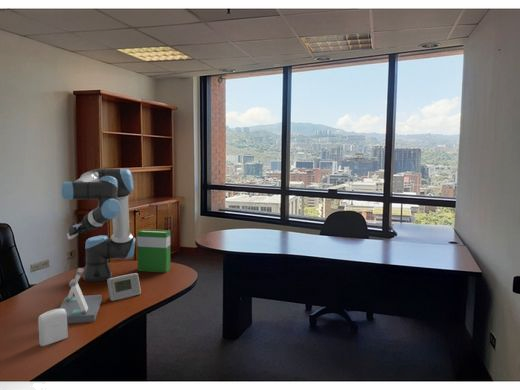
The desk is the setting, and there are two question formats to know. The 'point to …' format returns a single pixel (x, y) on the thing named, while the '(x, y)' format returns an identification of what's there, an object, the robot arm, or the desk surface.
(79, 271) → the lever
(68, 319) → the switch unit
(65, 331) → the photo printer
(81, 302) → the lever
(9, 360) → the desk surface
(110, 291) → the digital clock
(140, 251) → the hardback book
